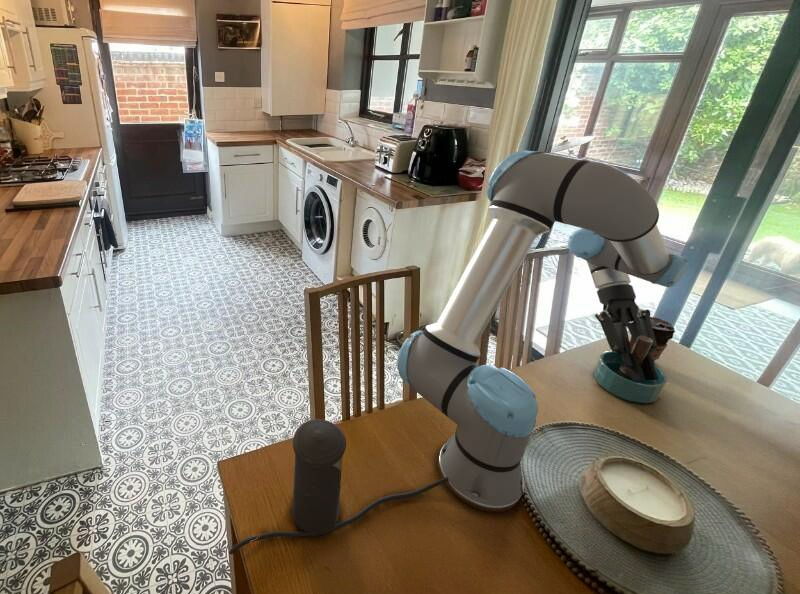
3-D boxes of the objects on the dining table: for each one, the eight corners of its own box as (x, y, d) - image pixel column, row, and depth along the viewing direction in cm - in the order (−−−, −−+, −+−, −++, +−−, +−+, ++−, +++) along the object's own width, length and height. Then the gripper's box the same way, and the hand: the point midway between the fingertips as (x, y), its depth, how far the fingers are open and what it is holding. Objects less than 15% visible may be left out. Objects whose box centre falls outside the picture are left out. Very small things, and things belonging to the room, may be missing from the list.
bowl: (629, 410, 97) (638, 391, 95) (580, 373, 109) (587, 355, 106) (670, 399, 100) (680, 380, 98) (618, 364, 112) (626, 347, 109)
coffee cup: (665, 375, 108) (686, 335, 103) (630, 370, 110) (648, 330, 104) (646, 354, 116) (665, 316, 110) (614, 350, 117) (630, 312, 112)
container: (349, 521, 73) (358, 442, 65) (308, 549, 69) (311, 469, 61) (321, 483, 80) (325, 407, 72) (281, 506, 76) (281, 429, 67)
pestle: (626, 391, 102) (648, 345, 96) (610, 379, 106) (629, 334, 100) (640, 387, 103) (662, 342, 97) (623, 376, 107) (643, 332, 101)
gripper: (629, 289, 111) (661, 379, 103) (574, 291, 110) (602, 383, 102) (654, 281, 104) (690, 377, 96) (595, 284, 102) (627, 381, 95)
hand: (644, 380), depth 99 cm, fingers open, 3 cm apart
